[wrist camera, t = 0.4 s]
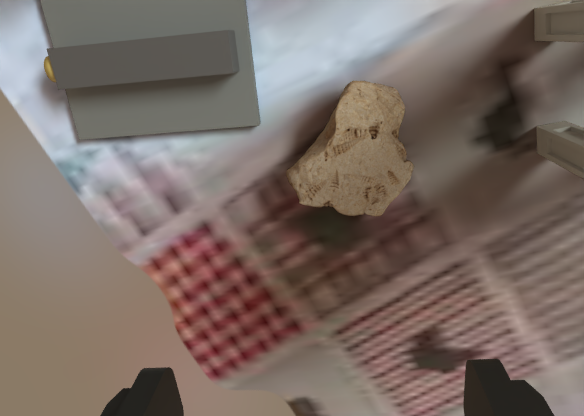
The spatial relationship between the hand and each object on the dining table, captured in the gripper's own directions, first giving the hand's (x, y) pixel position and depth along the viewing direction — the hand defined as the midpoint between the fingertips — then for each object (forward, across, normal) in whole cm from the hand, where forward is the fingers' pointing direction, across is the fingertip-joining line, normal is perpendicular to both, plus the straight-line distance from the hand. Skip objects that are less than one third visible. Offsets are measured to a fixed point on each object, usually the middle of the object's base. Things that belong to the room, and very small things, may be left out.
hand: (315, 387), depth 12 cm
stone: (+28, -2, +1) cm, 28 cm away
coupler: (+28, +13, -8) cm, 32 cm away
